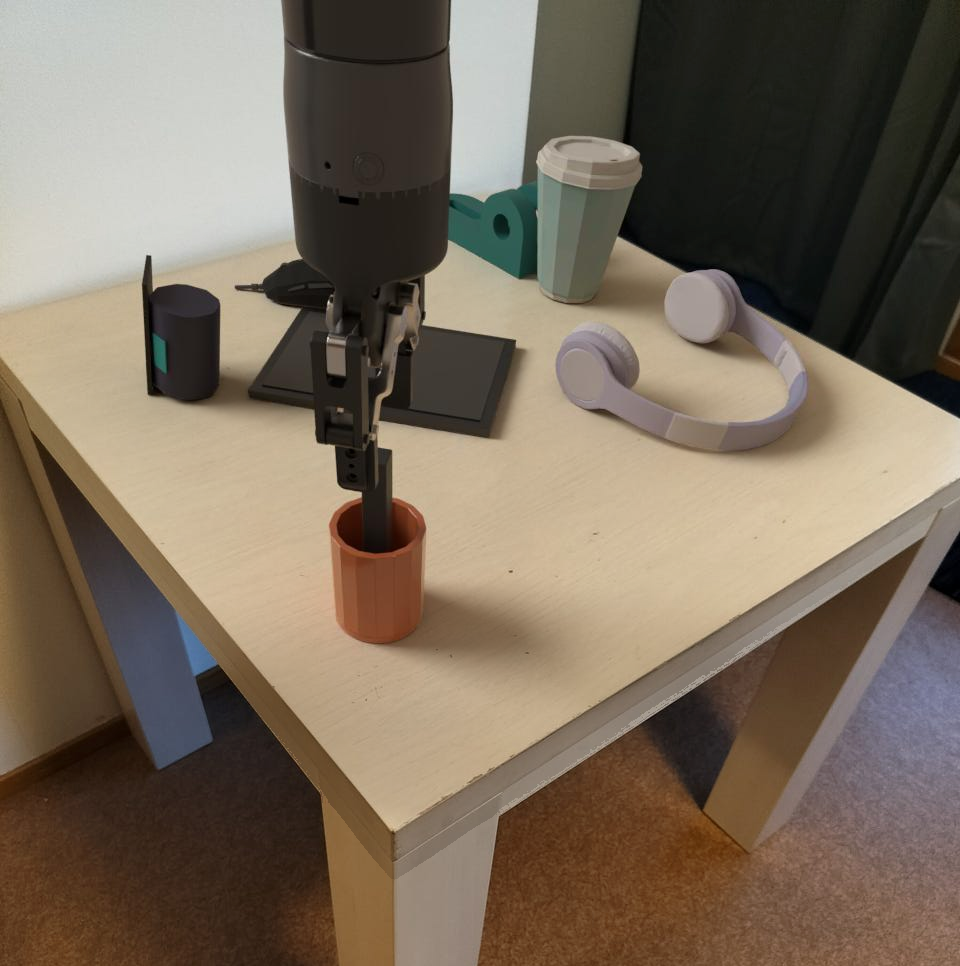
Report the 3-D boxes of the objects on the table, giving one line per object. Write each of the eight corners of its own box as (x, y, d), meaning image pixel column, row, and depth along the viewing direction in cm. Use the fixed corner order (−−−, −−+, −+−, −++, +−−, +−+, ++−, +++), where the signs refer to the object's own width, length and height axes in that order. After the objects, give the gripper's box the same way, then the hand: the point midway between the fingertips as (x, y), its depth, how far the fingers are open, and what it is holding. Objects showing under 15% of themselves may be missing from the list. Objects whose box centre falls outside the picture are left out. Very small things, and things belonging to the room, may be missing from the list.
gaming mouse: (241, 275, 96) (236, 237, 93) (379, 286, 96) (379, 249, 93) (228, 303, 92) (223, 265, 89) (373, 315, 92) (372, 277, 89)
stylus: (365, 611, 63) (360, 460, 53) (371, 596, 64) (367, 444, 54) (387, 615, 63) (386, 464, 53) (392, 599, 64) (392, 449, 54)
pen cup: (324, 634, 62) (317, 548, 56) (348, 575, 66) (344, 488, 60) (411, 650, 62) (413, 565, 56) (430, 589, 66) (434, 504, 60)
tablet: (248, 398, 81) (247, 388, 80) (303, 314, 91) (302, 304, 91) (488, 438, 79) (489, 428, 78) (515, 347, 90) (516, 338, 89)
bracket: (560, 263, 103) (570, 192, 97) (518, 278, 100) (526, 206, 94) (457, 207, 112) (460, 139, 106) (415, 220, 108) (416, 150, 102)
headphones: (539, 385, 85) (710, 496, 77) (553, 317, 80) (738, 430, 72) (675, 313, 97) (834, 403, 89) (694, 249, 91) (866, 340, 84)
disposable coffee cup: (505, 275, 100) (519, 128, 89) (588, 262, 104) (611, 120, 93) (549, 320, 94) (570, 169, 83) (636, 305, 98) (667, 159, 87)
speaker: (124, 393, 79) (110, 280, 72) (152, 363, 83) (142, 252, 76) (207, 414, 79) (202, 303, 72) (231, 383, 83) (228, 275, 76)
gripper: (335, 94, 46) (348, 373, 58) (236, 201, 37) (277, 508, 49) (477, 113, 46) (461, 390, 58) (414, 227, 36) (411, 531, 48)
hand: (377, 444), depth 53 cm, fingers open, 8 cm apart
